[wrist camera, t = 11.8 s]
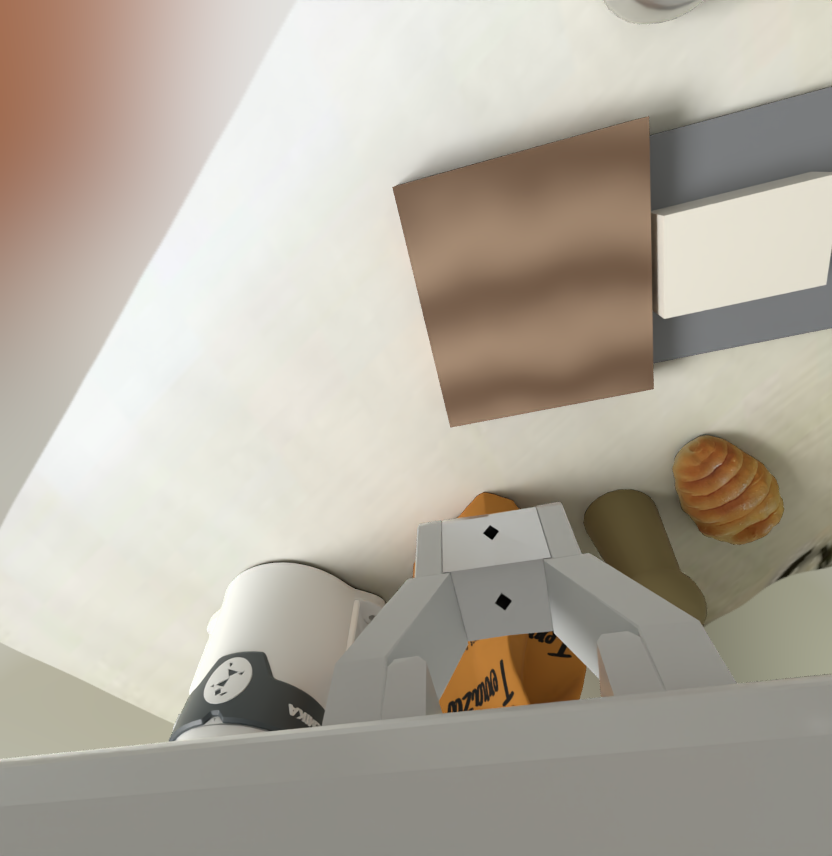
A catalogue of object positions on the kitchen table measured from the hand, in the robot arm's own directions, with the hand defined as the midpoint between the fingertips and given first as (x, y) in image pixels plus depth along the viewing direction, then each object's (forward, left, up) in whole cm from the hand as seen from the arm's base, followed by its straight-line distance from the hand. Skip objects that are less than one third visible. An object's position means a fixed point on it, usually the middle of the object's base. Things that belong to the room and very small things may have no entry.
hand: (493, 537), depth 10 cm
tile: (-1, -16, -25) cm, 29 cm away
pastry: (-20, -17, -26) cm, 37 cm away
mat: (-1, -19, -25) cm, 31 cm away
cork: (-22, -9, -25) cm, 35 cm away
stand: (-1, -4, -25) cm, 26 cm away
